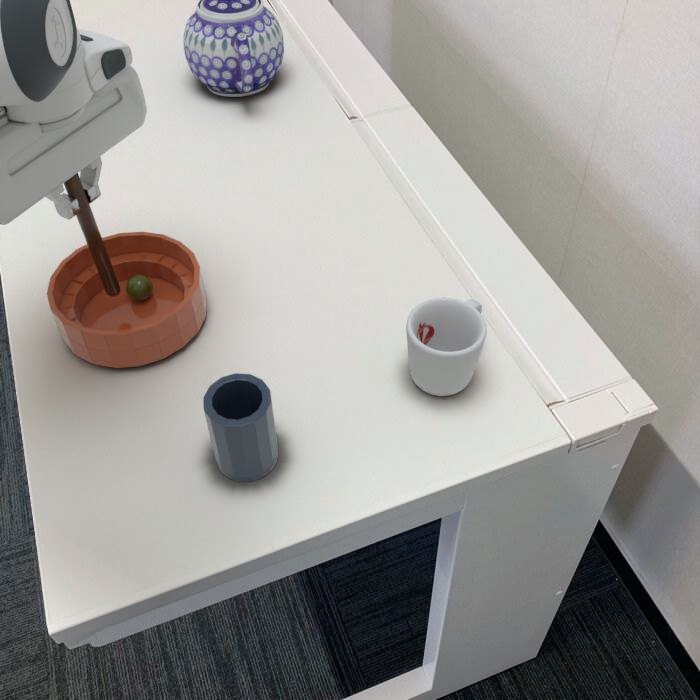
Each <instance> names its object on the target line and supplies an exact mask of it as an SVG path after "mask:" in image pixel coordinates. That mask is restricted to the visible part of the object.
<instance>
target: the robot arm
mask: <svg viewBox="0 0 700 700" xmlns="http://www.w3.org/2000/svg"><path fill="white" fill-rule="evenodd" d="M132 63H133V53H132V49H131V47H130V45H129V44H128V43H125V42H123V41H121V40H118V39H116V38H113V37H111V36H107V35H105V34H100V33H97V32H94V31H89V30H87V29H86V30H85V29H82V28H78V27H77V23H76V18H75V14H74V11H73V7H72V4H71V0H0V225H1V226H5V225H8V224H10V223H11V222H13V221H14V220H15V219H17V218H18V217H19V216H21V215H22V214H24V213H25V212H26V211H27V210H29V209H31V208H32V207H33V206H34V205H36V204H37V203H39V202H40V201H41V200H43V199H44V198H47V199H48V200H49V201H51V202H52V203H53V204H54V208H55V210H56V212H57V214H58V215H59V216H60V217H62V218H64V219H66V220H69V221H70V220H71V219H72V218H74V217H75V216H76V214H78V213H79V212H80V211H81V209H80V207H78V205H79V203H78V200H77V198H74V197H69V195H68V193H65V186H64V182H66V181H67V180H68V179H70V178H71V177H73V176H74V175H75V174H77V173H78V174H79V173H80V174H79V178H80V180H81V183H82V186H83V188H84V191H85V194H86V196H87V199H88V202H89V204H92V203H93V202H94V201H95V200H97V199H99V198H100V197H101V196H102V192H101V188H100V186H99V181H100V176H101V172H102V167H103V161H102V158H101V156H103V155H104V154H105V153H107V152H108V151H110V150H111V149H113V148H114V147H116V145H118V144H119V143H121V142H122V141H123V140H124V139H126V138H127V137H129V136H130V135H131V134H133V133H134V132H136V131H137V130H138V129H140V128H141V127H142V126H143V125H144V124H145V121H146V117H147V113H148V109H147V103H146V99H145V94H144V89H143V86H142V83H141V80H140V77H139V75H138V72H137V71H136V69H135V68H134V67H133V66H132Z"/></svg>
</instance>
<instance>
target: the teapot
mask: <svg viewBox="0 0 700 700" xmlns="http://www.w3.org/2000/svg"><path fill="white" fill-rule="evenodd" d="M183 31H184V32H183V52H184V56H185V59H186V63H187V65H188V67H189V69H190V71H191V73H192V74H193V76H194V78H196V79H197V80H198V81H199V82H200V83H202V84H203V85H204V86H206V87H207V89H208V90H209V91H210V92H211V93H212V94H214V95H216V96H221V97H230V98H231V97H233V98H236V97H237V98H238V97H247V96H252V95H255V94H257V93H260V92H262V91H264V90H265V89H266V88H267V87H268V86H269V85H270V82H271V81H272V80H273V79H274V78H275V76H276V75H277V74H278V73H279V71H280V69H281V66H282V63H283V59H284V54H285V41H284V34H283V33H284V32H283V29H282V27H281V25H280V22H279V21H278V19H277V17H276V16H275V15H274V13H273V12H272V11H271V10H270V9H269V8H268V7H266V6H265V5H264V1H263V0H198V1H197V3H196V7H195V10H194V12H193V13H192V14H191V15H190V17H189V18H188V19H187V21H186V23H185V28H184V30H183Z"/></svg>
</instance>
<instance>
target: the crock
mask: <svg viewBox="0 0 700 700" xmlns="http://www.w3.org/2000/svg"><path fill="white" fill-rule="evenodd" d="M202 399H203V402H202V403H203V404H202V405H203V412H204V417H205V421H206V424H207V429H208V434H209V438H210V442H211V446H212V450H213V453H214V458H215V462H216V463H217V467H218V469H219V470H220V472H221V473H222V474H223V475H224V476H225V477H226V478H228V479H230V480H232V481H235V482H239V483H250V482H254V481H258V480H260V479H262V478H264V477H266V476H267V475H269V474H270V473H271V472H272V470H274V468H275V466H276V465H277V463H278V459H279V447H278V440H277V430H276V422H275V417H274V409H273V401H272V394H271V389H270V388H269V386H268V385H267V383H266V382H265V381H264V380H263V379H262V378H260V377H258V376H255V375H253V374H252V373H251V374H250V373H237V372H235V373H231V374H228V375H225V376H221V377H220V378H218V379H217V380H216V381H214V382H213V383H211V384H210V385H209V387H208V389H207V391H206V392H205V394H204V395H203V398H202Z"/></svg>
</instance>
